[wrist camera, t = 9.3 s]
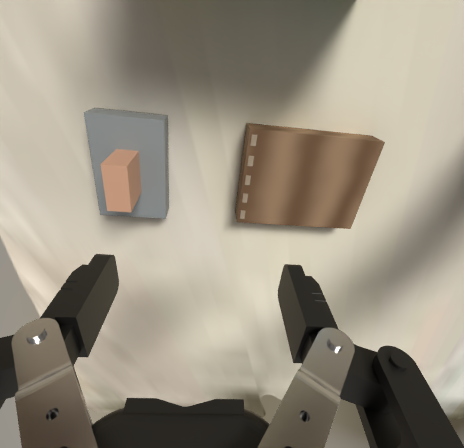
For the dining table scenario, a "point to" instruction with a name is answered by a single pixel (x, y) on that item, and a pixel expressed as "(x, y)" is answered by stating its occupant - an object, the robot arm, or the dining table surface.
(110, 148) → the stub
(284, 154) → the board
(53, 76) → the dining table surface
